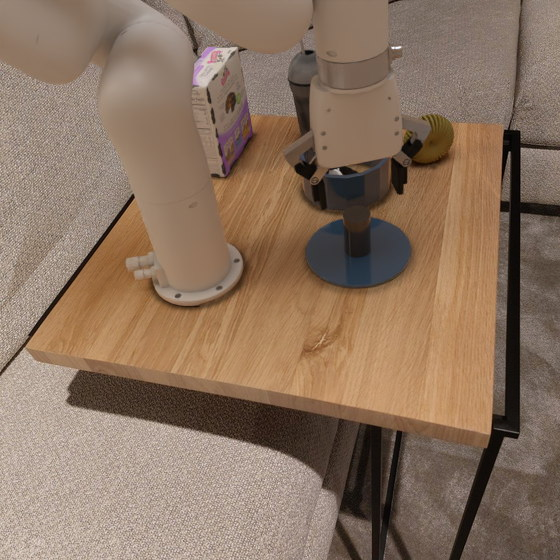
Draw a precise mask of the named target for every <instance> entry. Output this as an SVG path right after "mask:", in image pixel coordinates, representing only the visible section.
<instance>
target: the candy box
mask: <svg viewBox="0 0 560 560" xmlns="http://www.w3.org/2000/svg"><path fill="white" fill-rule="evenodd" d="M240 56H241V55H240V50H239V46H207V47H206V48H205V49H204V50H203V52H202V53H200V55H199V56H198V57H197V59H196V60H194V75H193V88H192V106H193V113H194V117H195V121H196V125H197V128H198V131H199V134H200V137H201V140H202V143H203V147H204V150H205V154H206V158H207V162H208V166H209V170H210V174H211V177H217V178H226V177H227V176H228V175H229V173H230V171H231V170H232V168H233V167H234V165H235V164H236V162H237V160H238V159H239V158H240V156H241V154H242V153H243V151H244V149H245V148H246V146H247V145H248V142H249V141H250V140H251V138H252V136H253V135H254V131H253V125H252V120H251V114H250V108H249V102H248V96H247V95H248V94H247V89H246V85H245V79H244V73H243V67H242V62H241V57H240Z"/></svg>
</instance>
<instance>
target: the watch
mask: <svg viewBox="0 0 560 560" xmlns="http://www.w3.org/2000/svg"><path fill="white" fill-rule="evenodd" d="M355 173H359V171H358V170H354V169H353V168H351V167H349V166H348V165H347V166H342V167H337V168H329V170H328V171H327V172H326V174H331V175H350V174H355Z"/></svg>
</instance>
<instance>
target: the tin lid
mask: <svg viewBox="0 0 560 560" xmlns="http://www.w3.org/2000/svg"><path fill="white" fill-rule="evenodd" d="M371 216H372V215H371V211H370V209H369V208H368V207H364V206H351V207H348V208H347V209H345V210H344V211H343V212H342V218H340V219H336V220H333V221H331V222H329V223H326V224H325V225H323V226H322V227H319V228H318V229H317V230H316V231H315V232H314V233H313V234H312V235H311V237H310V238H309V240H307V241H308V242H307V244H306V246H305V247H306V248H305V260H306V263H307V266H308V267H309V269H310V270H311V272H312V273H313V274H314V275H315V276H317V278H319V279H320V280H322V281H324V282H326V283H328V284H331V285H333V286H336V287H341V288H347V289H366V288H367V289H368V288H372V287H377V286H380V285H384V284H385V283H388V282H390V281H392V280H393V279H395V278H396V277H398V276H400V275H401V274H402V273H403V271H404V270H405V269H406V268H407V266H408V265H409V264H410V263H409V262H410V261H411V257H412V245H411V242H410V239H409V238H408V236H407V234H406V233H405V232H404V231H403V230H402V229H401V228H400V227H398V226H397V225H395V224H394V223H392V222H390V221H387V220H384V219H380V218H377V217H371Z"/></svg>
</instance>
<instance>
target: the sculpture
mask: <svg viewBox="0 0 560 560" xmlns="http://www.w3.org/2000/svg"><path fill="white" fill-rule="evenodd" d="M417 118H418V119H422V120H425V121H427V122H428V123H429V125H430V126H431V131H430V133H429V134H428V136H427V138H426V140H425V141H424V142H423V147H422V149H421V150H420V151H419V152H418V153H417V154H416V155H415V156H414V157H413V158H412V159H411V161H413V162H414V163H418V164H431V163H434V162H436V161H439V160H440V159H442V158H443V157H444V156H445V155H446V154H448V152H449V151H450V149H451V147H452V146H453V143H454V139H455V129H454V126H453V125H452V123H451V121H450V120H449V119H448V118H446V117H445V116H443V115H441V114H438V113H437V114H434V113H430V114H425V115H422V116H420V117H417ZM413 133H414V132H413V131H409V130H405V133H404V135H403V143H402V144H404V143H405V142H406V141H407V140H408V139H409V138H410V137H411V136H413Z"/></svg>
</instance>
